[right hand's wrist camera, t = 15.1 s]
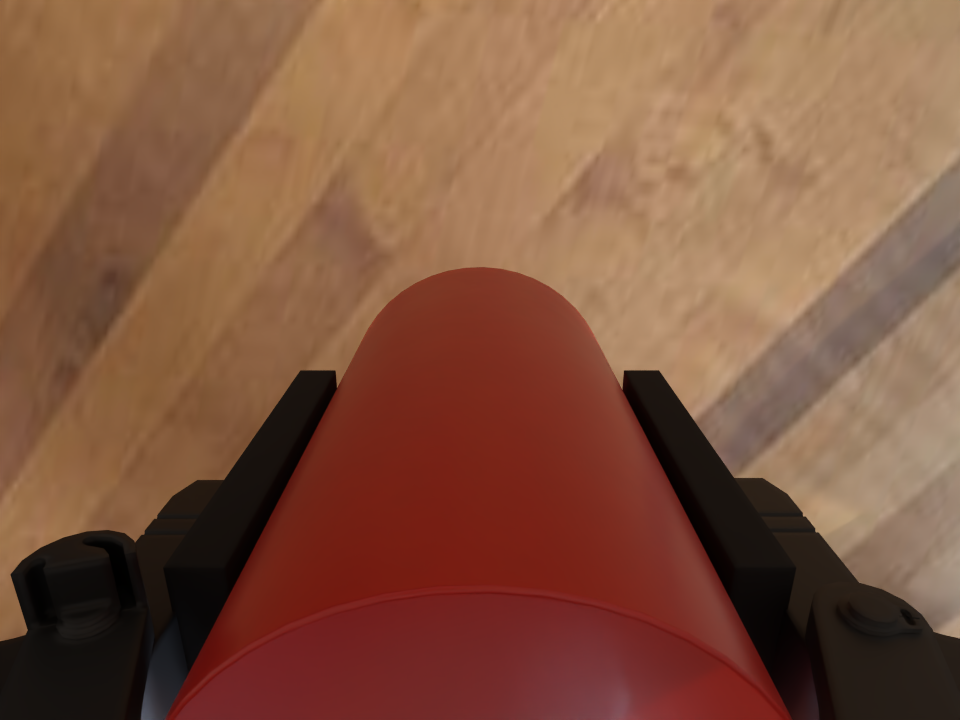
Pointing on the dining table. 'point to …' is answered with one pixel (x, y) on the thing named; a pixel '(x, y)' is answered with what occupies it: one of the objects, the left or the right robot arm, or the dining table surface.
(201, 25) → the dining table surface
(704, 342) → the dining table surface
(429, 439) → the canister
